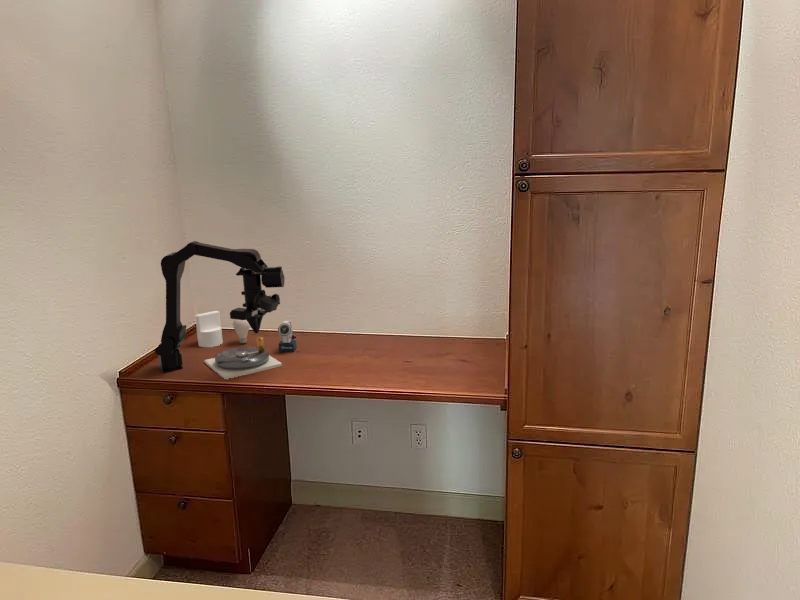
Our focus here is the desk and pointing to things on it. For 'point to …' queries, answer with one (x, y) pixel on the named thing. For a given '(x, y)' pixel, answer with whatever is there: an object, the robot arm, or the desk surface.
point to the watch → (286, 337)
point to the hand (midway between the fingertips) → (256, 332)
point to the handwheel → (243, 356)
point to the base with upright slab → (209, 329)
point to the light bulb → (241, 329)
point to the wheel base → (233, 373)
